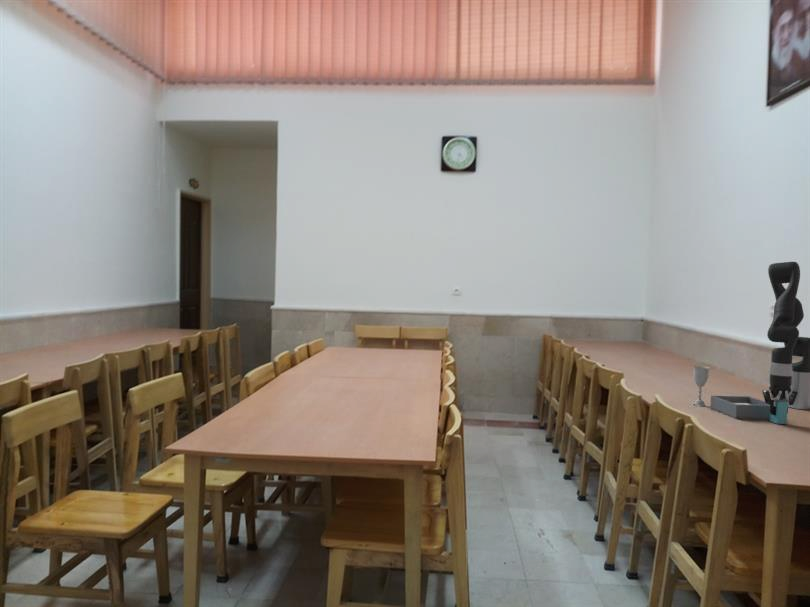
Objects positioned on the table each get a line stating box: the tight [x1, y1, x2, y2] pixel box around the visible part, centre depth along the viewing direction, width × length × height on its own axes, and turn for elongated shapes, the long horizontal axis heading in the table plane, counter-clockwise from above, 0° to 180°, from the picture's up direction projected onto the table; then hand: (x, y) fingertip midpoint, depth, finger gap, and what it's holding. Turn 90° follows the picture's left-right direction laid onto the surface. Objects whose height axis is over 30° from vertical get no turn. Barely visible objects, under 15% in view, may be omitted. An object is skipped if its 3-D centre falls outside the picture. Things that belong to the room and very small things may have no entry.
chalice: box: [692, 365, 710, 407], centre depth 254 cm, size 7×7×18 cm
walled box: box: [709, 395, 771, 420], centre depth 238 cm, size 18×18×6 cm
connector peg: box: [769, 397, 789, 425], centre depth 224 cm, size 4×4×10 cm
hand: (778, 414), depth 224 cm, fingers closed on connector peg, 4 cm apart
